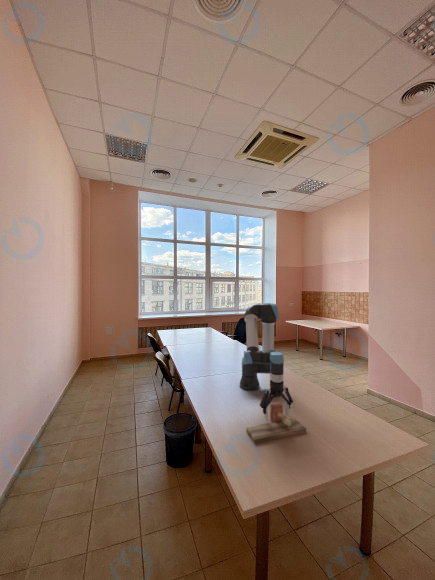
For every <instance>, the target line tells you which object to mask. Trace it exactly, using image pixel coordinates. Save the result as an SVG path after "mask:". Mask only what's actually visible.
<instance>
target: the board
mask: <svg viewBox="0 0 435 580" xmlns="http://www.w3.org/2000/svg"><path fill="white" fill-rule="evenodd" d="M288 419H289V420H290V421H291V426H289V430H288V426H287V425H286V424H285V423H284V422H283V421H277V422H272V421H271V422H268V423H263V424H257V425H253V426H249V427H246V431H245V432H246V433H247V435H248V436H249V437H250V439H251V441H252V442H253V443H254V444H260V443H264V442H268V441H273V440H277V439H281V438H287V437H290V436H294V435H295V436H296V435H299V434H303V433H307V427H306V426H304V425H303V424H302V423H301V422H300V421H299V420H298V419H297V418H296V417H293V418H288Z"/></svg>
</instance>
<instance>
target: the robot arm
mask: <svg viewBox="0 0 435 580" xmlns="http://www.w3.org/2000/svg"><path fill="white" fill-rule="evenodd" d="M243 318H244V322H245V333H246V334H245V335H246V336H245V337H246V350H243V357H242V358H241V378H240V380H239V387H240V388H241V389H242V390H245V391H256V390H258V389H260V381H259V378H258V374H267V375H268V374H269V387H270V388H269V389H267V388H265V389H264V394H263V395H262V399H261V401H260V403H259V407H260V408H262V412H263V415H264V416H263V419H264V420H265V421H268V419H269V415H268V414H269V410H268V406H269V405H270V403H272V400H274V399H275V398H280V397H282V399H283V400H284V401H285V403H284V415H285V416H286V417H289V416H290V409H291V405H292V403H294V400H293V398H292V396H291V394H290V391H289V387H287V386H286V385H284V374H285V373H284V372H285V370H284V367H285V366H284V361H285V359H284V353H282V352H279V351H277V350H276V349H275V348H274V347H275V324H276V323H277V321H278V320H279V319H280V313H279V309H278V305H277V304H276V303H271V302H268V303H267V302H265V303H259V302H258V303H257V302H256V303H253V304H251V305H249V306H248V307H247V308H246V311H245V312H244V317H243ZM258 320H260V323H261V325H262V330H261V331H262V337H261V339H262V343H261V344H262V346H261V347H262V348H261V350H260V349H259V336H258V335H259V334H258V323H257V322H258ZM284 393H285V394H284ZM285 395H286V396H285Z"/></svg>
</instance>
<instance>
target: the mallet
mask: <svg viewBox="0 0 435 580" xmlns="http://www.w3.org/2000/svg"><path fill="white" fill-rule="evenodd" d="M269 405H270V406H269V409H270V413H269V415H270V421H271V423H272V422H277V421H283V422H284V423H285V424H286V425H287V426H288V430H289V426H291V421H290V420H289V419H290V418H288V416H287V415H286V414H285V413H284V405H282V404H281V402H280V401H274V402H270V404H269Z"/></svg>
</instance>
